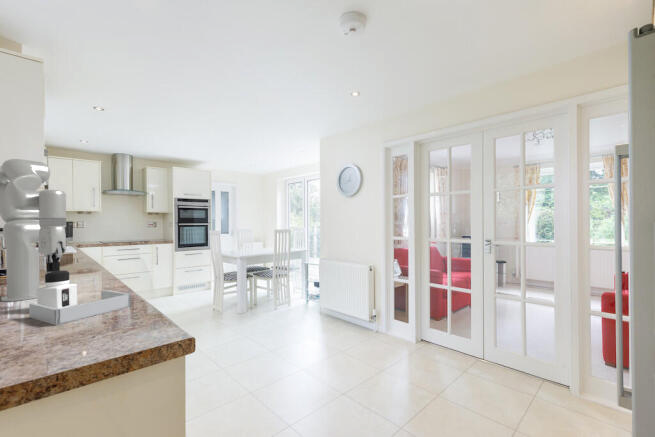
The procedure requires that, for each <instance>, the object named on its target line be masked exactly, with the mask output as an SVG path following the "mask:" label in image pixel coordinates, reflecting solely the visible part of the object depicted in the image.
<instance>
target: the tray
mask: <svg viewBox="0 0 655 437" xmlns="http://www.w3.org/2000/svg"><path fill="white" fill-rule="evenodd" d="M100 293H101V296H100V297H101V299H99V300H95V301H89V302H85V303H80V304H77V305H75V306H70V307H65V308H61V309H57V308H52V307H48V306H44V305H40V304H37V303H35V302H32V303H29V305H28V306H29V307H28V308H29V309H28V311H29V315H28V316H29V317H28V318H29V319H33V320H35V321H39V322H43V323H47V324H49V325H53V326H59V325H63V324H64V325H65V324H67V323H71V322H76V321H80V320H85V319H87V318H92V317H95V316H99V315H104V314H107V313H111V312H115V311H119V310H123V309H127V308H130V307H132V294H131V293H126V292H120V291H114V290H109V289H108V290H107V289H101V292H100Z"/></svg>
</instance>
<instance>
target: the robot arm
mask: <svg viewBox="0 0 655 437" xmlns="http://www.w3.org/2000/svg"><path fill="white" fill-rule="evenodd" d="M50 176H51V170H50V167H49V166H48V165H47V164H46V163H44V162H41V161H35V160H27V159H21V158H20V159H19V158H10V159H7V160H4V162H3V163H2V164H1V165H0V217H1V220H2V221H3V222H4V223H5V224H4V225H3V227H2V234H3V235H2V236H3V238H4V243H5V251H6V256H5V257H6V294H5V295H4V296H1V297H0V301H1V302H17V301H27V300H33V299H37V289H38V288H40V255H43V256H44V257H45V260H46V273H48V272H52V271H61V270H60V268H61V264H60V262H61V258H63V254H65V253H66V252H67V237H66V235H67V234H66V229H65V228H66V227H67V195H66V194H67V193H66V192H65V191H64V190H59V189H42V190H38V189H40V188H41V186H42V184H45V182H47V181H48V180H49V178H50ZM35 243H37V244H38V246H37V248H36V247H35V246H34V245H33V244H35Z"/></svg>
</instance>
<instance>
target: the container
mask: <svg viewBox="0 0 655 437" xmlns="http://www.w3.org/2000/svg"><path fill="white" fill-rule="evenodd" d="M44 285H45V286H41V287H39V288H38V289H37V298H36V300H37V301H36V302H37V303H36V304H40V305H44V306H48V307H52V308H57V309H61V308H65V307H70V306H75V305H78V288H77V287H78V284H77V283H70V271H68V270H60V271H52V272H48V273H47V272H45V274H44Z"/></svg>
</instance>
